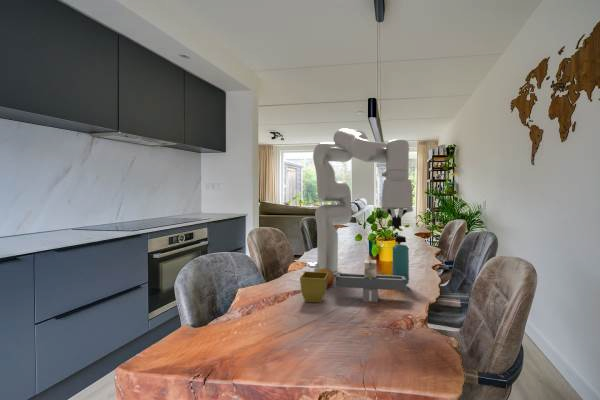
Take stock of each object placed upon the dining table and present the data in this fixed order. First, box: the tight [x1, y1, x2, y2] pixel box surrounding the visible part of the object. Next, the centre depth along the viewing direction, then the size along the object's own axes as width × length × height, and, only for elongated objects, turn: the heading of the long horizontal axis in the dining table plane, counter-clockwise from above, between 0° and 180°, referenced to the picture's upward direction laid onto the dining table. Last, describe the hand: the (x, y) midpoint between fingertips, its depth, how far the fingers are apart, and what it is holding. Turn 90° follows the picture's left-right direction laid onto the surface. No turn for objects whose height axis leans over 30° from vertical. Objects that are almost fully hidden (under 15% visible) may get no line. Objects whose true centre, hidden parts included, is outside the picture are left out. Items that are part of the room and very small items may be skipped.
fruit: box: [316, 269, 335, 288], centre depth 138 cm, size 8×8×8 cm
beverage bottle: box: [391, 235, 410, 286], centre depth 137 cm, size 6×7×20 cm
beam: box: [335, 272, 407, 303], centre depth 123 cm, size 24×9×8 cm, turn 79°
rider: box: [363, 259, 377, 278], centre depth 123 cm, size 4×6×7 cm
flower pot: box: [299, 271, 328, 304], centre depth 120 cm, size 9×9×9 cm
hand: (396, 228), depth 121 cm, fingers closed
